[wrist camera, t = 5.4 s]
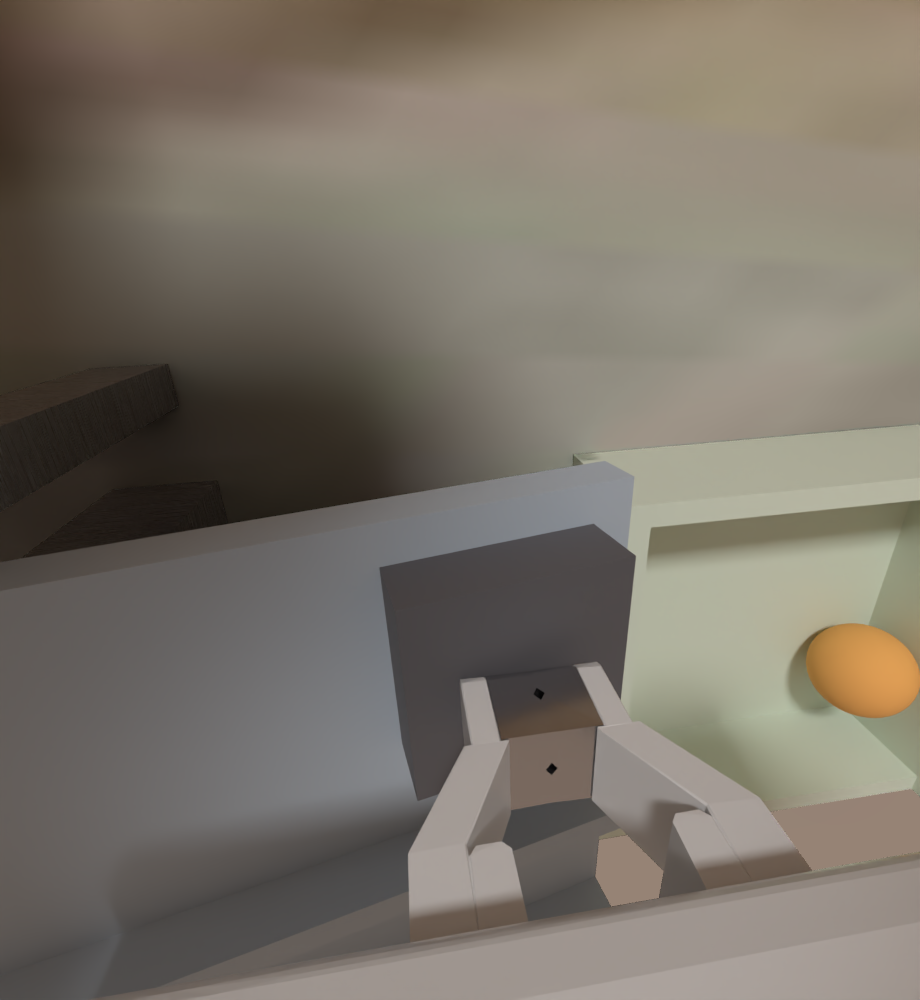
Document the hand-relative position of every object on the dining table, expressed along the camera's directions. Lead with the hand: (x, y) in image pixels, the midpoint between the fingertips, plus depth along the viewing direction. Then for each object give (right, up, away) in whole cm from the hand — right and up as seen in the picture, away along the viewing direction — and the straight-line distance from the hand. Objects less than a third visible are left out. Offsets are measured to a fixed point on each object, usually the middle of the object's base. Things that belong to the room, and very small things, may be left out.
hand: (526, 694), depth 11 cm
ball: (+17, -4, +12) cm, 21 cm away
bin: (+11, -1, +13) cm, 17 cm away
